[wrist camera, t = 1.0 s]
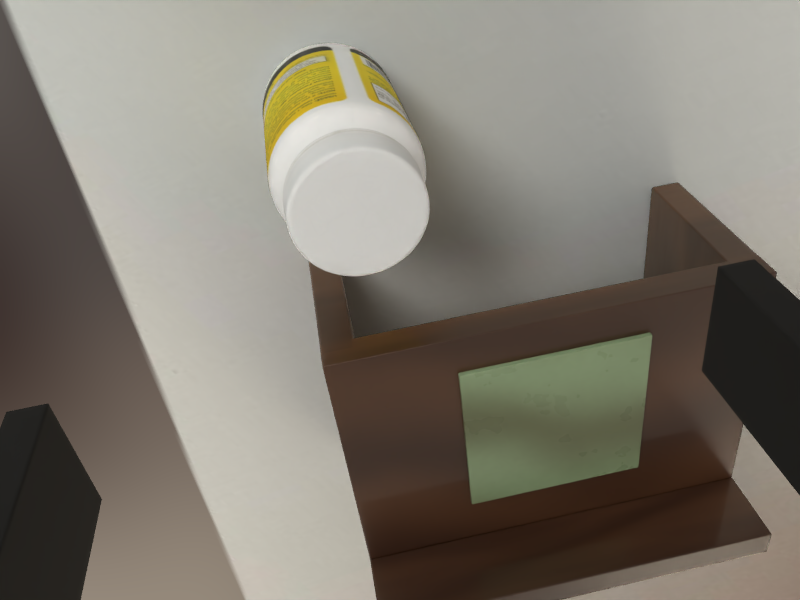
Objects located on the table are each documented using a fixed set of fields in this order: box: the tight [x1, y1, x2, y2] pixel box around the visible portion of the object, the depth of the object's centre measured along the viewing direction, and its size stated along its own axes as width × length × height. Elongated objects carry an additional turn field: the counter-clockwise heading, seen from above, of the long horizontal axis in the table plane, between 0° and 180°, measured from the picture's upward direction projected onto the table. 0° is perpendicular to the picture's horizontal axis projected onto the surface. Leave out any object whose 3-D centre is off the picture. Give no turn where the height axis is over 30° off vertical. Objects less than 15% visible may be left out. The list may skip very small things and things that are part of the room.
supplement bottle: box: [263, 43, 430, 276], centre depth 23 cm, size 5×5×8 cm
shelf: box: [309, 183, 777, 600], centre depth 30 cm, size 12×16×10 cm
